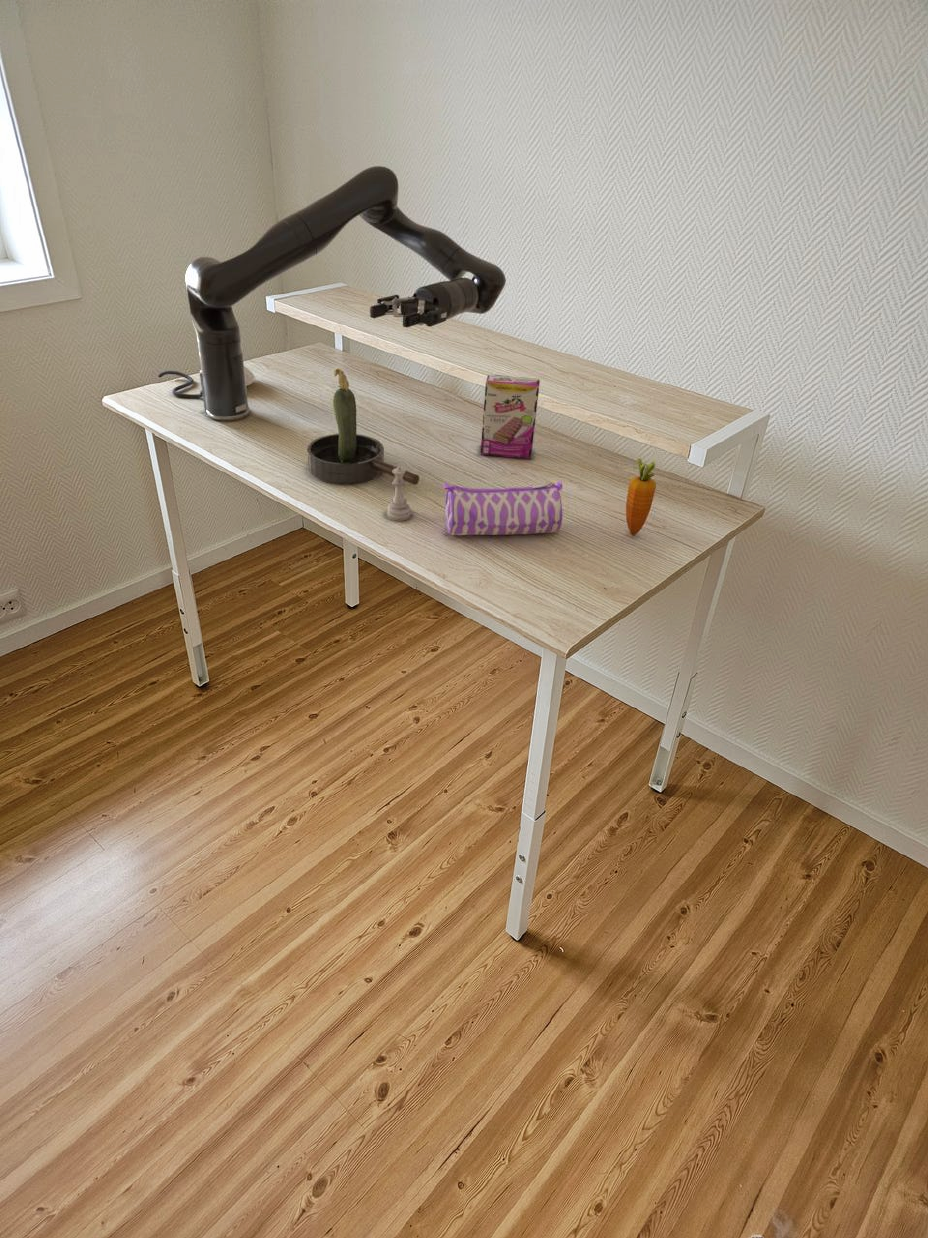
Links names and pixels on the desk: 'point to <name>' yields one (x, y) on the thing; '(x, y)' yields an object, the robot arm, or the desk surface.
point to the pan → (331, 469)
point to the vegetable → (345, 418)
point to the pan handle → (389, 468)
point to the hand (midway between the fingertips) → (387, 317)
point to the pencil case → (503, 510)
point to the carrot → (640, 498)
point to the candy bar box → (509, 416)
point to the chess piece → (398, 498)
